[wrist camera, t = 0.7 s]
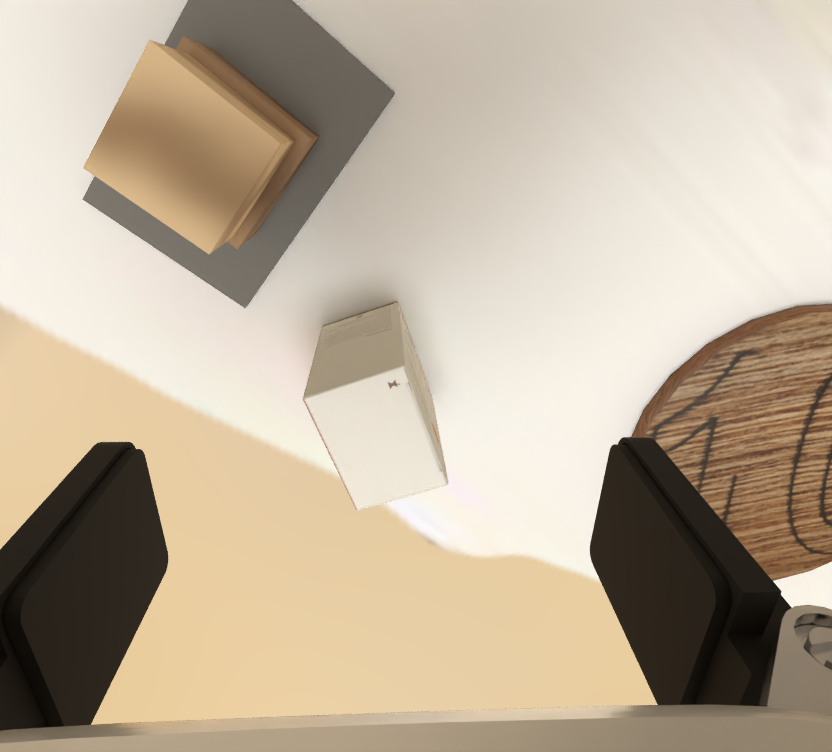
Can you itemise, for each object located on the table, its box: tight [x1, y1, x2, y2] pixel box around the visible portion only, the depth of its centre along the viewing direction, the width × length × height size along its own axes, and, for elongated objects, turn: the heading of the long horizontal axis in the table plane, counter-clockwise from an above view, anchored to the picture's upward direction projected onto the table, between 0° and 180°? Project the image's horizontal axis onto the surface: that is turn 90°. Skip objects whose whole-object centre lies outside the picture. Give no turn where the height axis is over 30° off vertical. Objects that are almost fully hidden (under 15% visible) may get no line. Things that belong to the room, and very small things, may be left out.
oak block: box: [83, 40, 296, 254], centre depth 25 cm, size 6×6×4 cm
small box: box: [303, 302, 448, 510], centre depth 33 cm, size 8×6×10 cm
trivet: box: [632, 304, 832, 581], centre depth 42 cm, size 25×25×2 cm
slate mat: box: [83, 0, 395, 308], centre depth 31 cm, size 16×11×1 cm
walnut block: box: [176, 36, 320, 249], centre depth 29 cm, size 7×7×4 cm
